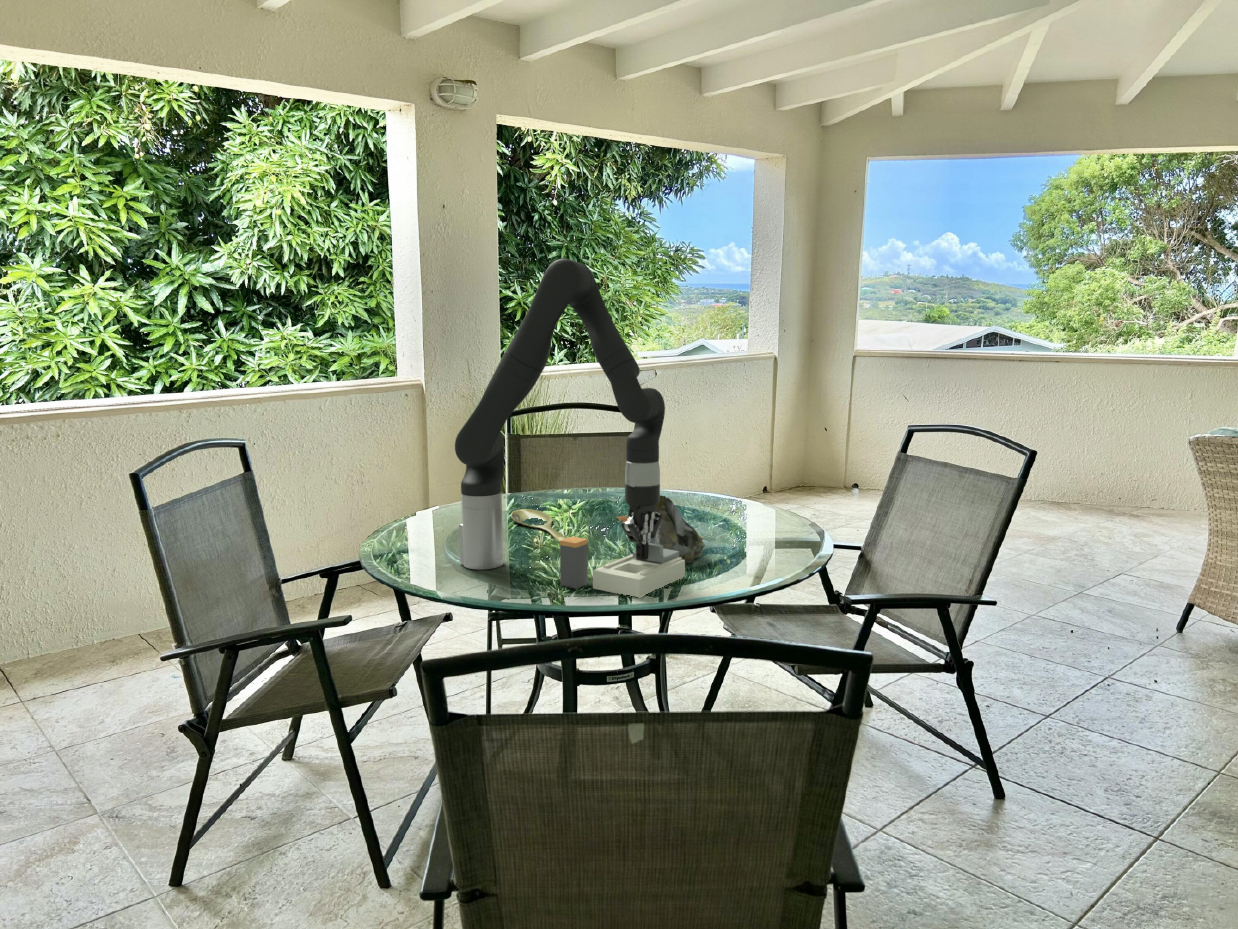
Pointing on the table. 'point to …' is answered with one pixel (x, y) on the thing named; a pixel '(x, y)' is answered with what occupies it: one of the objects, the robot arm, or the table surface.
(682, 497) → the table surface
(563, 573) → the plug
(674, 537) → the stone
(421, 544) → the table surface
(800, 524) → the table surface
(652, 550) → the grey l-shaped block
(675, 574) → the socket block
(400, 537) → the table surface
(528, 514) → the spoon
